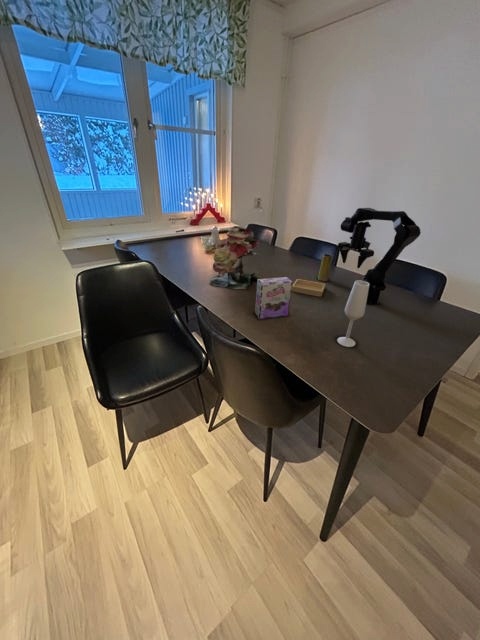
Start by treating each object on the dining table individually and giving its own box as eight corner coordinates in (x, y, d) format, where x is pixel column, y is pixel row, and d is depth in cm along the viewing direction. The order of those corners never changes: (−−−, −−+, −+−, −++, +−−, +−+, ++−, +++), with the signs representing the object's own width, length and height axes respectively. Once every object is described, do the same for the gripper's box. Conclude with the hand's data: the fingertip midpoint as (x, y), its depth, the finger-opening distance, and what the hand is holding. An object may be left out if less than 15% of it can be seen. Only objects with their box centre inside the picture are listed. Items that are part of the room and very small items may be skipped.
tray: (324, 288, 148) (325, 283, 146) (321, 296, 138) (322, 291, 137) (296, 283, 153) (297, 278, 151) (291, 291, 144) (291, 286, 142)
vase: (324, 282, 156) (329, 257, 149) (315, 278, 160) (319, 255, 153) (330, 279, 160) (335, 255, 152) (321, 276, 163) (325, 253, 156)
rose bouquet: (224, 269, 169) (223, 219, 154) (266, 279, 156) (270, 225, 141) (198, 282, 150) (195, 226, 135) (243, 295, 137) (246, 234, 122)
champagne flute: (351, 336, 107) (367, 279, 95) (358, 346, 101) (376, 287, 89) (334, 336, 106) (348, 279, 94) (340, 346, 101) (356, 286, 89)
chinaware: (198, 244, 223) (195, 224, 215) (218, 241, 227) (215, 221, 218) (205, 254, 200) (201, 231, 192) (227, 251, 204) (224, 228, 195)
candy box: (258, 319, 117) (261, 283, 108) (254, 313, 121) (256, 278, 113) (288, 316, 120) (293, 281, 112) (283, 310, 125) (287, 276, 117)
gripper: (385, 237, 131) (376, 268, 139) (354, 230, 145) (347, 258, 152) (370, 240, 126) (361, 272, 134) (339, 231, 140) (333, 261, 148)
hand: (351, 265), depth 142 cm, fingers open, 9 cm apart
